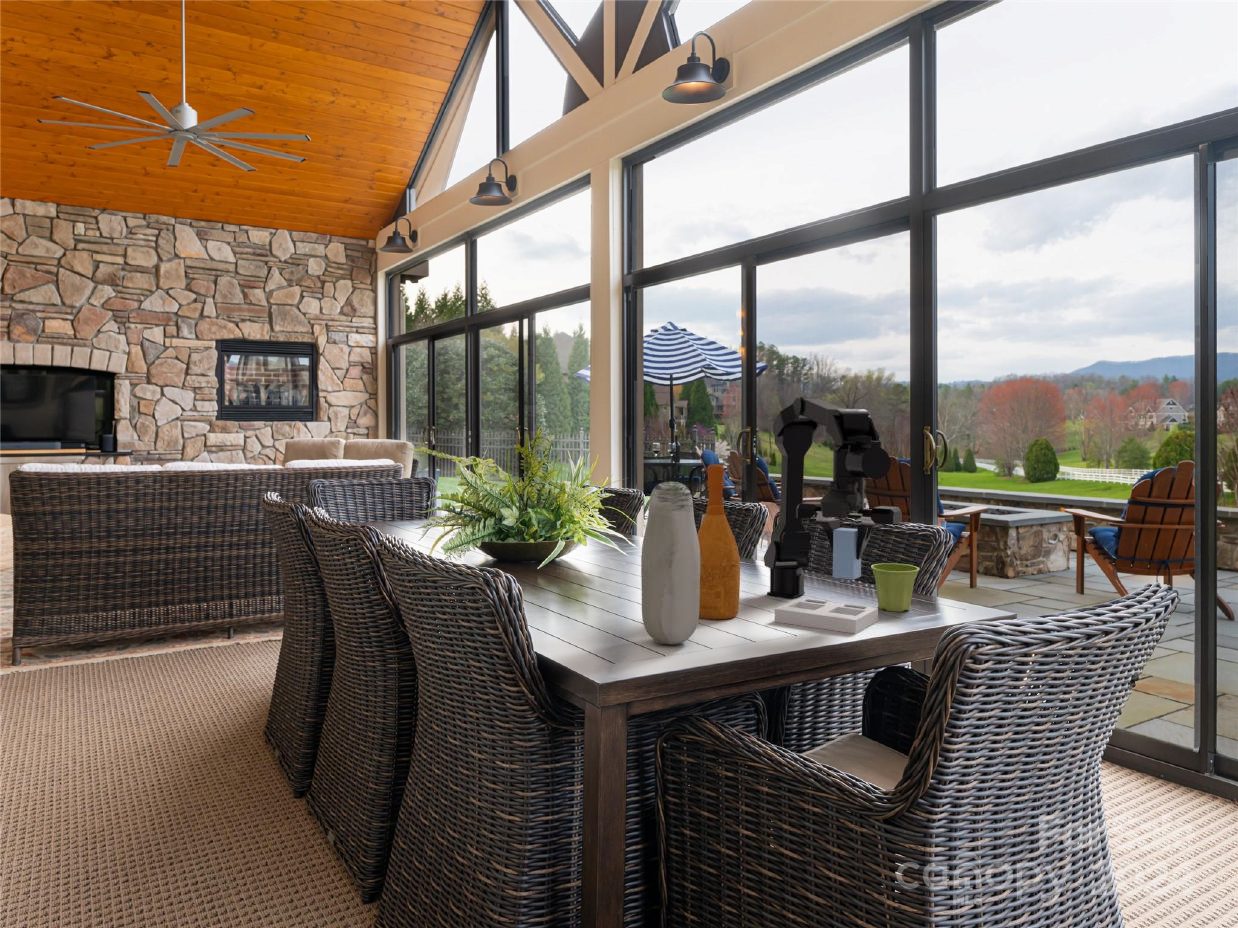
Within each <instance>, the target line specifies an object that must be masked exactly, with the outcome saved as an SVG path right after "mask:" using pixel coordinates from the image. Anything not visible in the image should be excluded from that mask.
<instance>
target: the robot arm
mask: <svg viewBox="0 0 1238 928" xmlns="http://www.w3.org/2000/svg"><path fill="white" fill-rule="evenodd" d="M820 426H822V427H825V433H826V434H827V435H828V436H829V437H830V438H831V439H832V440H833V443H832V444H831V445H830V447H829V451H832V452H833V453H832V455H833V457H832V461H833V463H832V464H833V465H832V481H830V484H829V490H828V492H826V493H825V495H824V496H822V498H821V499H820V500H819V502H818V501H805V502H804V479H805V477H804V475H805V474H804V471H805V456H806V455H807V453H808V452H809V450H810V448H811V447H812V446H813V440H814V435H815V434H816V432H817V431H818V429H819V428H820ZM772 433H773V435H774V439H773V440H774V444H775V446H776V448H777V449H778V451H779V453H780V455H781V467H780V468H781V473H780V474H781V475H780V503H779V505H780V506H779V507H780V508H779V521H778V523H777V524H776V526H775V528H773V531H772V532H771V540H770V542H769V545H768V547H767V549H766V551H765V553H764V554H763V555H764V556H763V563H764V566H765V567H767V568H768V569H769V573H770V575H769V576H770V577H769V578H770V579H769V591H767V592H766V595H768V596H774V597H782V598H789V599H794V598H795V599H796V598H797V597H800V596H802V595H805V594H806V591H804V590H805V574H804V573H803V568H805V569H808V568H809V564H810V561H811V553H812V546H811V545H812V544H811V538H812V535H811V532H810V531H809V530H807V529H806V527H805V525H804V524H803V523H804V522H803V519H808V520H811V519H812V518H814V517H816V520H814V524H817V525H820V527H821V529H823V531H824V533H825V534H826V537H827V539H828V543H829V546H830V548H831V551H832V553H833V530H835V529H838V528H841V527H840V526H841V523H840V522H841V521H840V520H842V519H843V520H844V519H847V518H851V519H860V521H861V522H860V523H857V524H856V529H857V530H858V537H857V548H856V558H857V560H859V559H860V558H861V559H862V556H863V553H864V551H865V549H866V548H867V547H866V546H867V544H868V542H869V540H870V538H871V536H872V534H873V533H874V531H875V529H876V528H877V527H880V526H882V525H891V526H893V525H897V524H900V523H902V522H903V512H902V509H900V507H899V506H888V505H887V506H886V505H879V506H875V507H873V508H872V509H871V508H869V509H868V508H867V505H866V504H867V502H865V487H867V480H865V479H871V480H881V479H883V478H884V477H886V475H887V474H888V473H889V472H890V470H891V466H892V460H891V458H890V456H889V454H888V452H887V451H886V450H885V449H884V448H882V445H881V444H882V443H881V441H880V434H879V433H878V431H877V429H876V426H875V424H874V422H873V419H872V417H871V416H870V413H869V411H868V410H867V409H863V408H862V409H861V408H843V407H840V406H838V405H835V404H833V403H830V402H828V401H826V400H822V398H821V397H819V396H798V397H796V398H794V401H793V402H792V404H790V405H789V406H787V407H785V408H784V409H782V410H780V411H779V413H778V414H777V416H776V418H775V419H774V422H773V424H772Z"/></svg>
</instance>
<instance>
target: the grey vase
mask: <svg viewBox="0 0 1238 928" xmlns="http://www.w3.org/2000/svg"><path fill="white" fill-rule="evenodd" d="M689 489H690V488H688V486H687V485H685V484H683V483H681V482H678V481H664V482H663V481H662V482H661V483H659V484H657V485H656V486H655V487H654V488H653V489H652V491H651V493H650V497H649V505H648V506H649V507H648V513H647V521H646V526H645V531H644V536H643V540H642V546H641V556H640V557H641V558H640V561H641V562H640V563H641V565H640V568H641V569H640V572H641V573H640V574H641V575H640V576H641V578H640V581H641V616H642V617H641V618H642V624H643V627H644V629H645V631H646V633H647V634H648V635H649V636H650V638H651V639H652V640H653V641H656V642H658V643H660V644H662V645H670V646H671V645H672V646H673V645H679V644H680V645H681V644H682V643H685V642H686V641H688V640H689V639H690V638H692V635H694V633H695V631H696V629H697V627H698V624H699V618H700V617H699V598H700V547H699V541H698V536H697V534H698V531H697V527H696V522H695V521H696V520H695V516H694V503H693V496H692V493H691V490H689Z"/></svg>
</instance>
